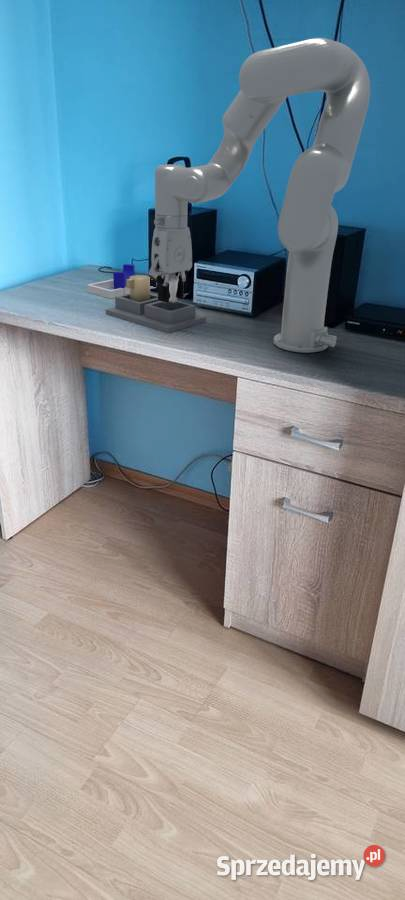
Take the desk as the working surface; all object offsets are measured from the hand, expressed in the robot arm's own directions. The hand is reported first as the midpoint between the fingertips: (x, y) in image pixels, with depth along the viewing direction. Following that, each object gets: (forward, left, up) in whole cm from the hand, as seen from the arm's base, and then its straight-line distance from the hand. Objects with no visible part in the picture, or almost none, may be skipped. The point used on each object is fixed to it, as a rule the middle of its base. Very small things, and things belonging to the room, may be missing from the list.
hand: (170, 298), depth 163 cm
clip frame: (+31, -13, -6) cm, 34 cm away
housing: (+5, 0, -6) cm, 8 cm away
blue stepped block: (+31, -13, -6) cm, 34 cm away
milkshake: (0, 0, -4) cm, 4 cm away
